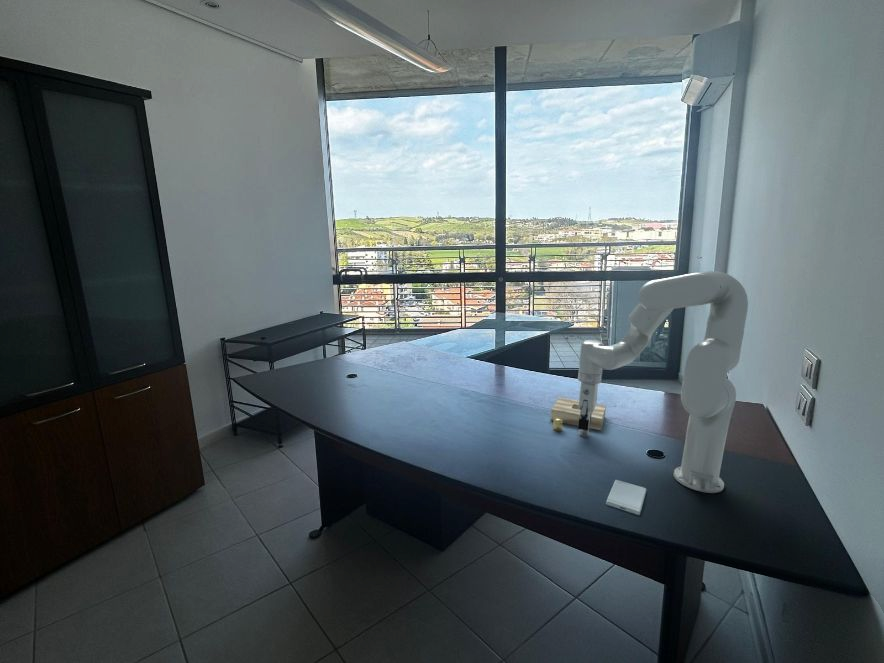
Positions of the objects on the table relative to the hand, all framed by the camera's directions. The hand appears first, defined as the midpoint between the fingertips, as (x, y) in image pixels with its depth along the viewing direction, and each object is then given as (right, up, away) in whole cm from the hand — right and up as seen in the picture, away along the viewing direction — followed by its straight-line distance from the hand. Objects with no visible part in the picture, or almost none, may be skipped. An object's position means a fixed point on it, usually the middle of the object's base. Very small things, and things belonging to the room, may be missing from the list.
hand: (584, 425), depth 153 cm
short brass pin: (-8, -2, +5) cm, 10 cm away
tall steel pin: (0, -3, +1) cm, 3 cm away
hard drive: (0, -12, -36) cm, 38 cm away
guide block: (+2, 0, +15) cm, 15 cm away
